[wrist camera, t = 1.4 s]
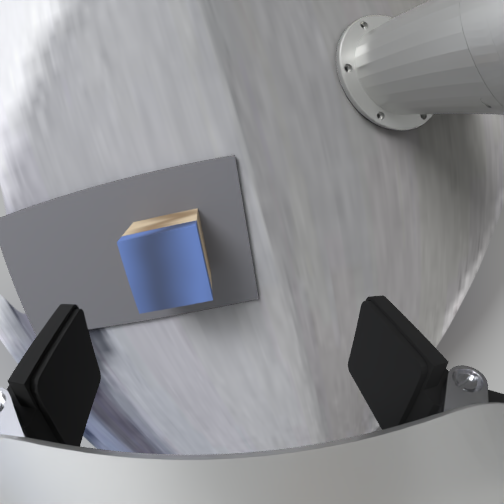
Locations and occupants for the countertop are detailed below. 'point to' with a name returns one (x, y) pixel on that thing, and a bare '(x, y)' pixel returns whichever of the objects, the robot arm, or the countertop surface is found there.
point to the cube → (166, 261)
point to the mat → (111, 230)
